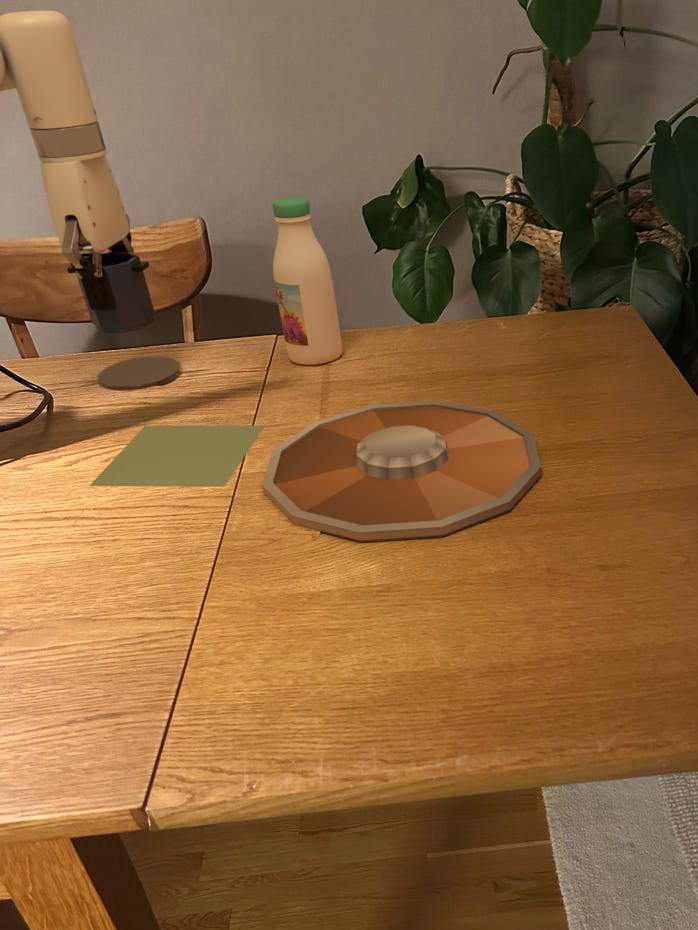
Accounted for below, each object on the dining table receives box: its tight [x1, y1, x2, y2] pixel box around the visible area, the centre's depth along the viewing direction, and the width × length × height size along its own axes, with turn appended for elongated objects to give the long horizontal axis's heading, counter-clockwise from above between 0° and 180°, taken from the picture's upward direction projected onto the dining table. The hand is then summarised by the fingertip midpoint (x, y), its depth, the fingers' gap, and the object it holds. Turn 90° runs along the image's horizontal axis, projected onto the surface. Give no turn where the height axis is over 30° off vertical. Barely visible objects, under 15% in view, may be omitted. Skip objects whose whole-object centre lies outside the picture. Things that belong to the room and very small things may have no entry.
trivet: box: [96, 356, 182, 392], centre depth 115 cm, size 11×11×1 cm
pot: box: [66, 251, 156, 334], centre depth 108 cm, size 10×7×8 cm
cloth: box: [89, 425, 265, 488], centre depth 95 cm, size 15×15×1 cm
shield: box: [261, 400, 542, 543], centre depth 89 cm, size 30×3×30 cm
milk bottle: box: [272, 196, 343, 366], centre depth 112 cm, size 8×8×20 cm
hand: (117, 298), depth 109 cm, fingers closed on pot, 7 cm apart
